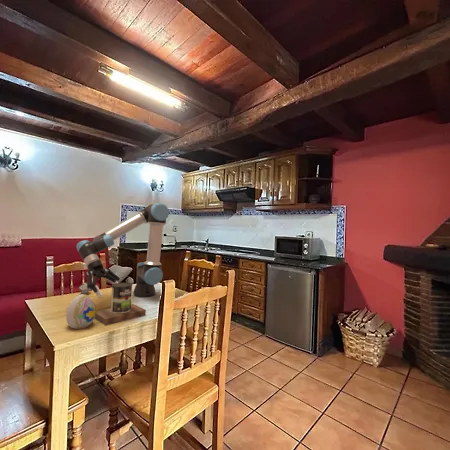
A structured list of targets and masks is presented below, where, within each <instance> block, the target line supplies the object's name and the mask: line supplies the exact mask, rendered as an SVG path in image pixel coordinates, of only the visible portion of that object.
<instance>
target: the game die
mask: <svg viewBox="0 0 450 450" xmlns="http://www.w3.org/2000/svg"><path fill="white" fill-rule="evenodd" d="M77 288H79V291H80V294H84V295H88V294H89V292H90V291H93V289H90V288H87V282H85V281H84V282H83V283H82V284H81V285H80V286H77Z"/></svg>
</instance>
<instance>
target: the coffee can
mask: <svg viewBox="0 0 450 450" xmlns="http://www.w3.org/2000/svg"><path fill="white" fill-rule="evenodd" d="M132 289H133V283H130V282H119V283H115V284H114V283H112V284H111V301H110V309H111V312H112V313H116V314H121V313H127V312H129V311H131V304H132V295H133V293H132V292H133V291H132Z"/></svg>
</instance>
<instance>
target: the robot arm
mask: <svg viewBox="0 0 450 450" xmlns="http://www.w3.org/2000/svg"><path fill="white" fill-rule="evenodd" d="M169 216H170V209H169V207H167V205H166V204H164V203H161V202H156V203H152V204H149V205H147V206H145V207H144V208H143V209H141V210H139V211H138V212H137V214H135V215H133V216H131V217H130V218H128V219H126V220H125V221H123V222H121V223H119V224H117V225H116V226H113V227H111V228H110V229H108V230H106V231H104V232H102V233H101V234H99V235H96V236H95V237H94V238H93V240H91V241H90V240H88V239H84V240H81V241H79V242H78V243H77V244H76V246H75V247H76V250H77V252H78V254H79V256H80V258H81V259H82V260H83V262H84V264H85V266H86V267H87V268H86V269H87V270H88V271H87V272H86V273H85V275H86V283H87V288H90V289H92V291H93V293H95V294H96V297H97V298H98V299H100V298H101V297H103V293H102V292H101V289H100V288H99V286H98V284H97V282H98V281H97V279H101V278H104V279H107V280H109V281H110V282H112V283H113V284H115V283H120V280H121V278H120V277H119V276H118V275H116V273H114V272H113V271H112V270H111V269H110V268H109V267H107V268H104V265H103V263H102V261H101V260H100V258H99V256H98V255H97V254H98V253H99V252H102V251H103V250H106V249H108V248H111V247H112V246H114V245H115V240H117V239H118V238H120V237H122V236H124V235H126V234H127V233H130V232H131V231H133V230H135V229H136V228H138V227H140V226H141V225H144V224H148V225H149V233H148V241H147V252H146V253H147V254H146V259H145V260H146V261H143V262H138V263H137V266H136V285H135V287H134V289H133V291H132V292H133V293H132V295H133V296H134V297H137V298H138V297H139V298H147V297H154V296H156V288H155V285H158V284H159V283H160V282H161V281H162V279H163V276H164V275H163V274H164V273H163V270H162V263H161V262H160V260H161V250H162V242H163V231H164V230H163V229H164V226H165V225H166V224H167V219H168V217H169ZM92 276H93V277H92Z"/></svg>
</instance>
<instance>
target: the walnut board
mask: <svg viewBox="0 0 450 450" xmlns="http://www.w3.org/2000/svg"><path fill="white" fill-rule="evenodd" d="M146 313H147V312H146V309H145V308H143V307H140V306H138V305H137V304H134V303H131V311H129V312H127V313H121V314H116V313H112V312H111V308H106V309H101V310H97V311H96V310H95V317H94V320H97V321H98V322H99V323H100V324H102V325H104V326H107V325H110V324H111V325H112V324H115V323H116V324H117V323H119V322H124V321H127V320H132V319H136V318H140V317H145V316H146Z"/></svg>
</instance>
